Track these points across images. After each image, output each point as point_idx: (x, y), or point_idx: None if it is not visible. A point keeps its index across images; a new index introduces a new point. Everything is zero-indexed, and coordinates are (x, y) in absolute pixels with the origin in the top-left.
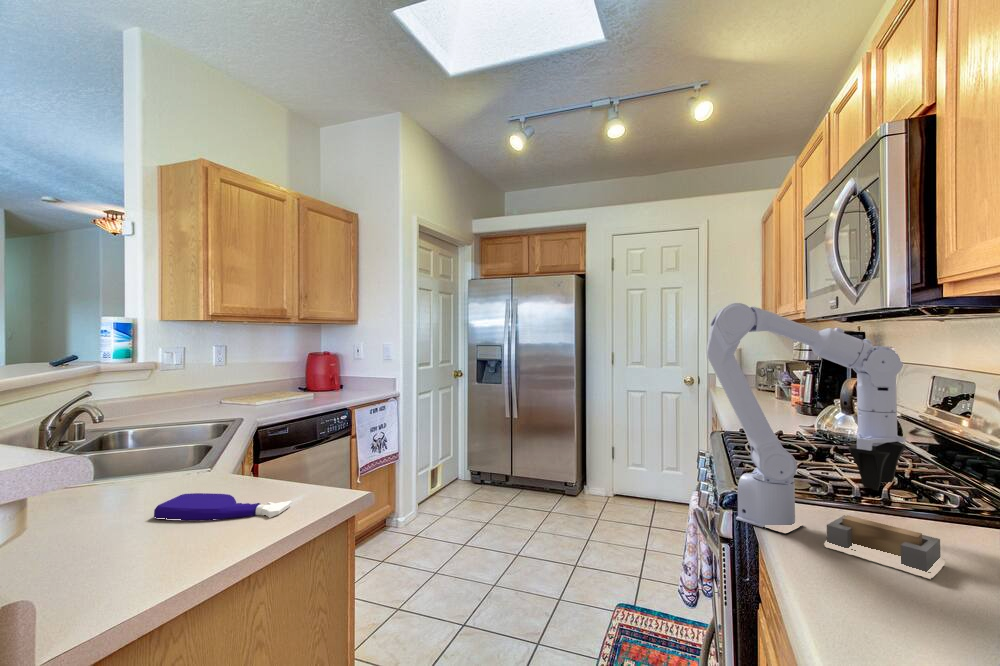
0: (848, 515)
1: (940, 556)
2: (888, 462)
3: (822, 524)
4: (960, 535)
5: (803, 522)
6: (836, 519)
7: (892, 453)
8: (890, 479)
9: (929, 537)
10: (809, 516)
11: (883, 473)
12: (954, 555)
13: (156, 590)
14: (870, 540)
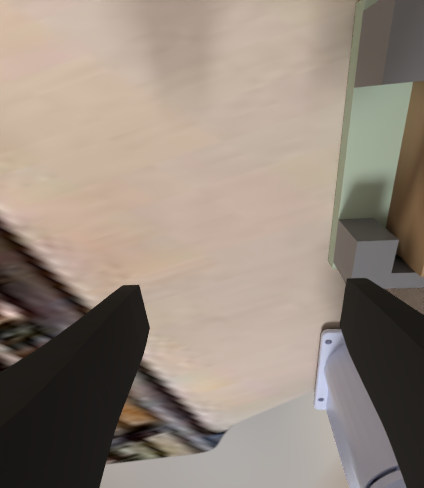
0: (422, 274)
1: (364, 10)
2: (90, 384)
3: (270, 311)
4: (5, 80)
5: (293, 336)
6: (419, 287)
7: (31, 450)
8: (133, 296)
9: (406, 26)
10: (236, 343)
11: (130, 339)
12: (221, 22)
13: None
14: None
